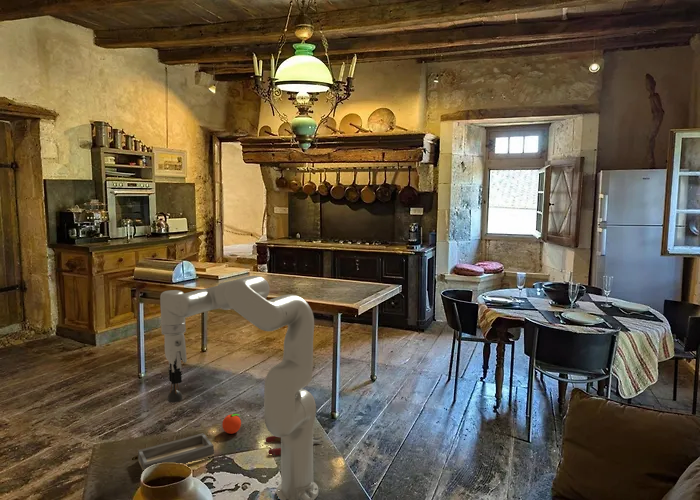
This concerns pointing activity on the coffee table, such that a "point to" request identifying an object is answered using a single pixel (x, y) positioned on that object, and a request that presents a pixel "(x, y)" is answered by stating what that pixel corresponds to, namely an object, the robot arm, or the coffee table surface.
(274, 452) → the pliers
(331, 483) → the coffee table surface
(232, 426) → the clementine
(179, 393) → the wooden tabletop sculpture
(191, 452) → the rectangular tray
